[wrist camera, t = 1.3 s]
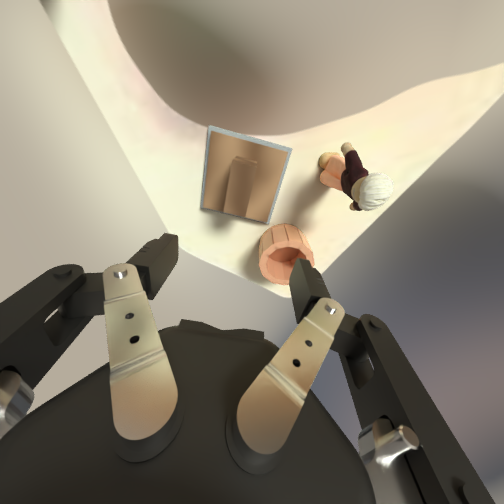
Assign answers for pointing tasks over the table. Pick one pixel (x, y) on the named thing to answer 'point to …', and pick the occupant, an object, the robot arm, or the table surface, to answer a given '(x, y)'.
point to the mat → (255, 140)
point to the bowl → (282, 252)
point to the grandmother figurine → (355, 179)
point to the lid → (242, 176)
